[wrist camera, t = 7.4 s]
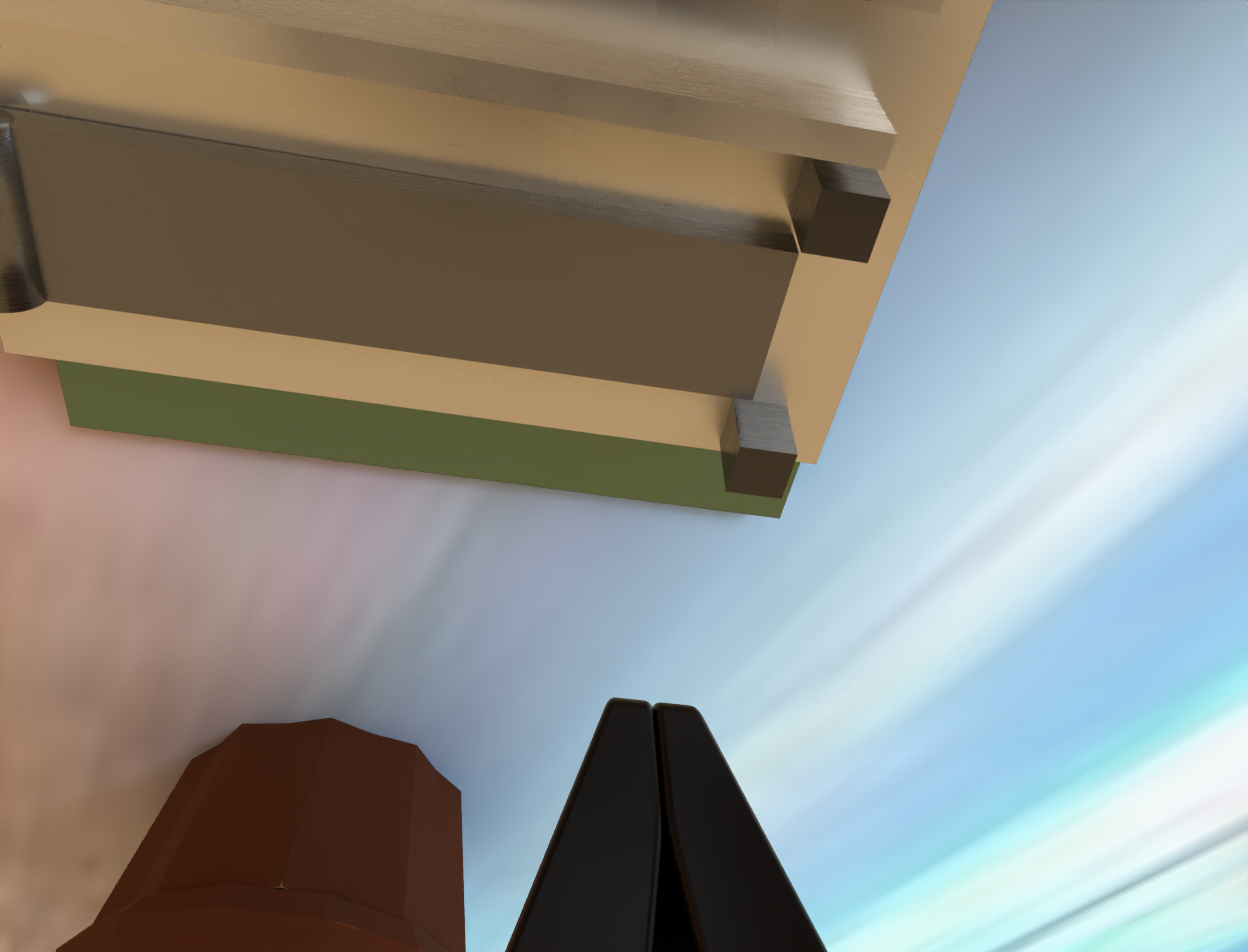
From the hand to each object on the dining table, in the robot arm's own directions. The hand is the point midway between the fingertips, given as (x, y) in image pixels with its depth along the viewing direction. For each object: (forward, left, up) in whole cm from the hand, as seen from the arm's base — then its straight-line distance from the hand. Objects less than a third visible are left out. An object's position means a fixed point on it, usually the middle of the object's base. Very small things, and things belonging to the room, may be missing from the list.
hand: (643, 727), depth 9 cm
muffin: (+6, +23, -13) cm, 27 cm away
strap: (+4, 0, -9) cm, 10 cm away
